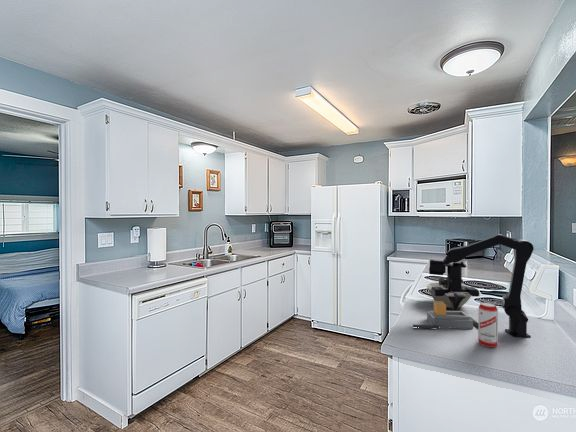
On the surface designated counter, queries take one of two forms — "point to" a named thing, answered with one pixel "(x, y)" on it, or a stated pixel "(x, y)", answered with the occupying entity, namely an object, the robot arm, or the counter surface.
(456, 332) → the counter surface
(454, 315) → the power strip
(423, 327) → the cord
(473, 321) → the cord
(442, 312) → the knob
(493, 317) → the beer can
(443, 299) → the ceramic bowl
